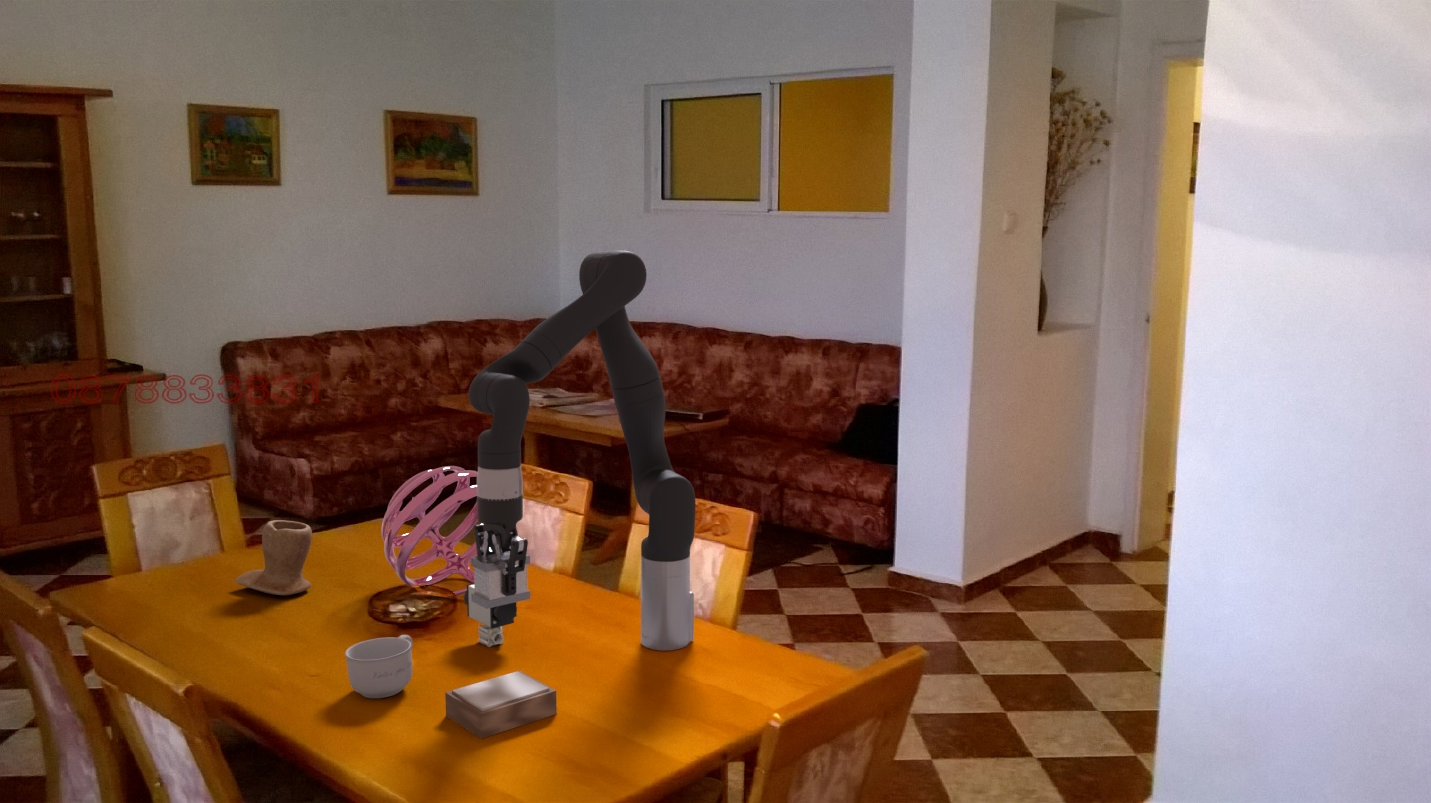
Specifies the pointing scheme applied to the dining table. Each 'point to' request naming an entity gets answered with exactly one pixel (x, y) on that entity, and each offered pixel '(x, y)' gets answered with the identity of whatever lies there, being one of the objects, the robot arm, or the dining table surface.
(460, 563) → the spiral basket
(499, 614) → the pneumatic valve
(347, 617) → the dining table surface
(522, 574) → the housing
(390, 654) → the teacup
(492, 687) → the stand
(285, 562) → the brown top hat
